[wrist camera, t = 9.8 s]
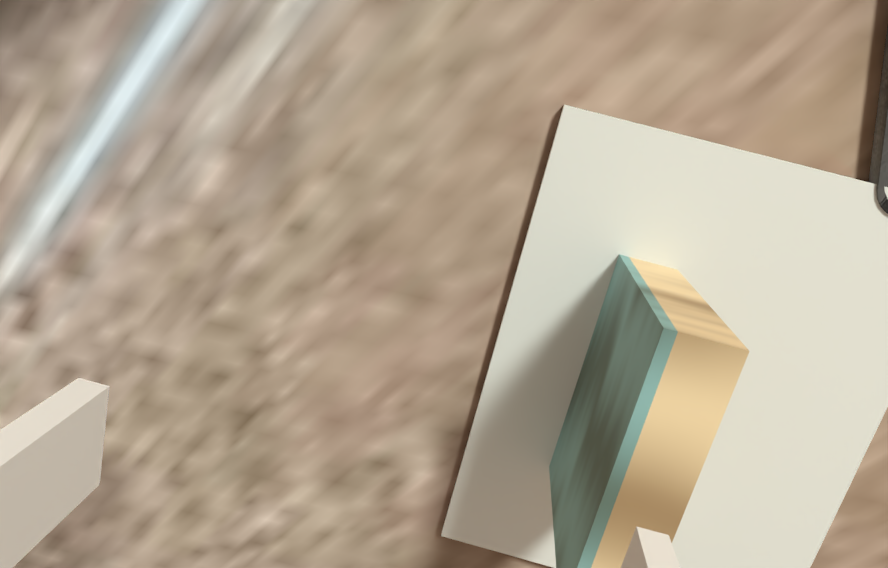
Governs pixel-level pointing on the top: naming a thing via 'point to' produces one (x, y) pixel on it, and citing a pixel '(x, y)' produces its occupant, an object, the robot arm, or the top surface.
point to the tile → (640, 414)
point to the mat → (732, 298)
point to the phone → (881, 139)
